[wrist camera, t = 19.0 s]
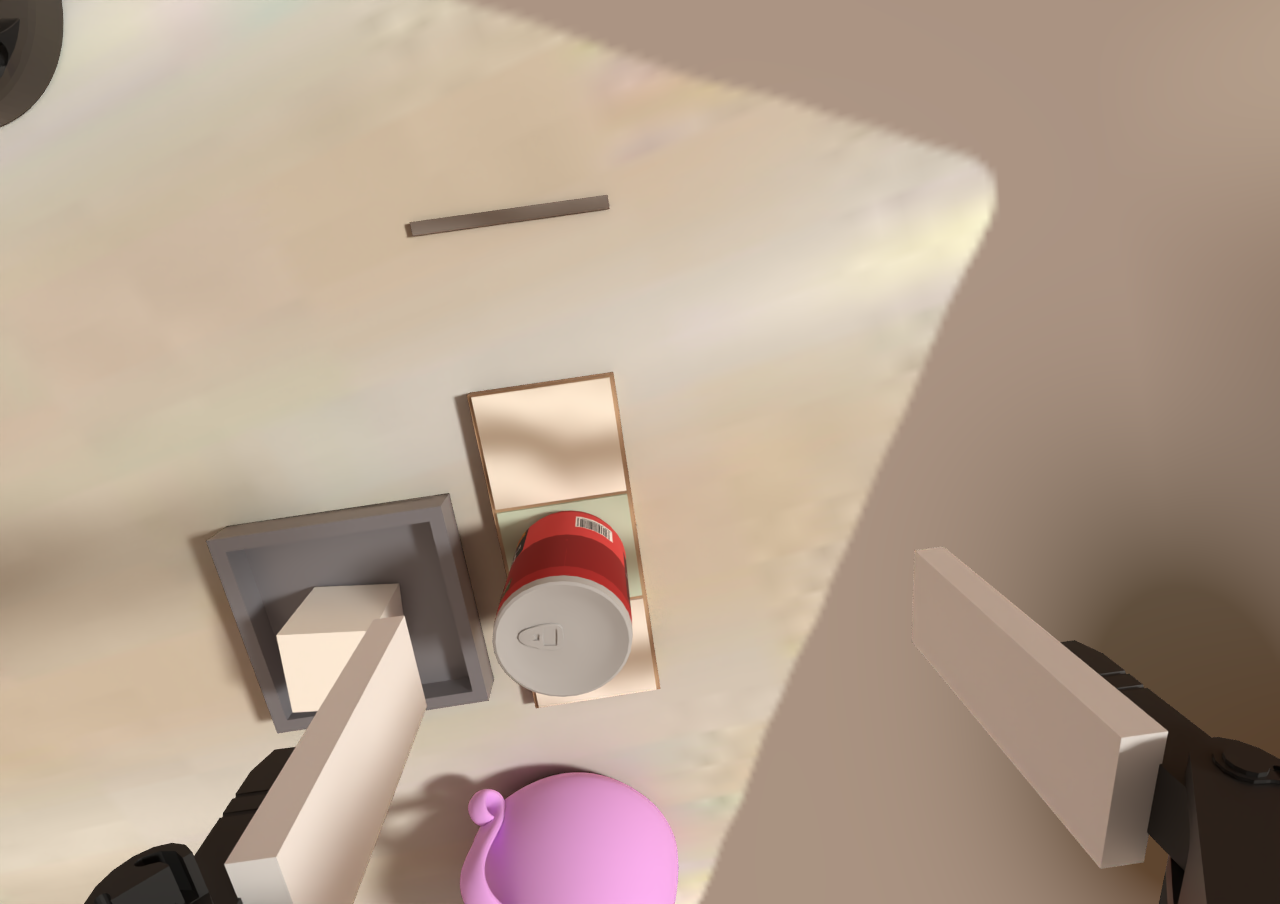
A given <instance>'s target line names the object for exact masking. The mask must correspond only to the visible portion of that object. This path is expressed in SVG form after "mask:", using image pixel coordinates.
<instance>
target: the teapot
mask: <svg viewBox="0 0 1280 904" xmlns="http://www.w3.org/2000/svg"><path fill="white" fill-rule="evenodd" d="M468 812H469V815H470V818H471V819H472V821H473V822H474V823H475V824H477V825H479V826H481V827H480V828H479V830H478V832H477V834H476V836H475V838H474V841H473V844H472V846H471V848H470V850H469V852H468V854H467V856H466V859H465V861H464V864H463V867H462V871H461V876H460V890H461V895H462V899H463V901H464V904H675V899H676V892H677V883H678V854H677V845H676V841H675V837H674V835H673V832H672V830H671V827H670V826H669V824H668V822H667V821H666V819H665V817H664V816H663V814H662V813H661V812H660V810H659V809H658V808H657V807H656V806H655V805H654V804H653V803H652V802H651V801H650V800H649V799H647V798H646V797H645V796H644V795H642V794H641V793H639V792H638V791H636V790H635V789H633V788H632V787H630V786H628V785H626V784H624V783H622V782H620V781H618V780H615V779H612V778H609V777H606V776H603V775H598V774H594V773H585V772H572V773H562V774H557V775H553V776H549V777H546V778H543V779H540V780H538V781H535V782H533V783H531V784H529V785H527V786H525V787H523V788H521V789H520V790H518V791H516V792H515V793H513V794H512V795H510V796H509V797H507V798H506V799H505V800H504V798H503V797H502V795H501V794H500V793H499V792H498V791H496V790H493V789H482V790H479V791H478V792H476V793H475V794H474V795H473V797H472V798H471V800H470V802H469V804H468Z"/></svg>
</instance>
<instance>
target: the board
mask: <svg viewBox="0 0 1280 904" xmlns="http://www.w3.org/2000/svg"><path fill="white" fill-rule="evenodd" d="M604 209H609V202H608V195H603V196H596V197H589V198H582V199H574V200H567V201H560V202H553V203H546V204H538V205H531V206H524V207H517V208H510V209H503V210H495V211H488V212H481V213H474V214H467V215H459V216H452V217H445V218H438V219H431V220H424V221H416V222H410V226H411V230H412V234H413V236H418V235H425V234H432V233H440V232H447V231H454V230H461V229H468V228H475V227H483V226H490V225H497V224H504V223H511V222H518V221H526V220H533V219H540V218H547V217H554V216H561V215H568V214H576V213H583V212H590V211H597V210H604ZM467 399H468V403H469V408H470V412H471V417H472V421H473V426H474V430H475V435H476V439H477V444H478V448H479V453H480V458H481V462H482V467H483V471H484V476H485V480H486V485H487V489H488V494H489V498H490V503H491V507H492V512H493V516H494V521H495V525H496V530H497V535H498V539H499V544H500V548H501V553H502V557H503V562H504V566H505V571H506V575H507V578H508V574H509V571H510V568H511V565H512V561H513V558H514V555H515V552H516V548H517V545H518V542H519V541H520V539H521V537H522V536H523V534H524V533H525V532H526V530H527V529H528V528H529V527H530V526H531V525H533V524H534V523H536V522H537V521H538V520H540V519H541V518H543V517H545V516H548V515H550V514H552V513H556V512H560V511H570V510H572V511H582V512H586V513H589V514H592V515H594V516H596V517H598V518H600V519H602V520H603V521H604V522H606V523H607V524H608V525H610V526H611V527H612V529H613V530H614V531H615V532H616V533H617V534H618V536H619V538H620V539H621V541H622V543H623V546H624V549H625V554H626V564H627V574H628V584H629V594H630V604H631V614H632V630H633V638H632V645H631V652H630V654H629V657H628V659H627V662H626V663H625V665H624V666H623V668H622V669H621V671H620V672H619V673H618V674H617V675H616V676H615V677H614V678H613V679H612V680H611V681H609V682H608V683H606V684H605V685H603V686H602V687H600V688H598V689H596V690H593V691H591V692H589V693H585V694H581V695H577V696H567V697H557V696H547V695H543V694H539V693H536V692H533V691H532V693H533V698H534V702H535V707H536V708H541V707H548V706H554V705H560V704H567V703H573V702H580V701H586V700H592V699H599V698H605V697H612V696H618V695H625V694H631V693H637V692H644V691H650V690H657V689H660V683H659V676H658V670H657V663H656V656H655V650H654V643H653V636H652V629H651V623H650V616H649V609H648V602H647V596H646V589H645V582H644V576H643V569H642V562H641V555H640V549H639V542H638V535H637V529H636V522H635V515H634V508H633V502H632V495H631V488H630V482H629V475H628V468H627V461H626V455H625V448H624V441H623V435H622V428H621V421H620V414H619V408H618V401H617V394H616V388H615V381H614V374H613V372H610V373H603V374H596V375H589V376H582V377H575V378H568V379H561V380H554V381H548V382H541V383H534V384H527V385H520V386H513V387H506V388H499V389H492V390H486V391H479V392H472V393H469V394H468V395H467Z"/></svg>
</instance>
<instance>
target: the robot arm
mask: <svg viewBox="0 0 1280 904" xmlns="http://www.w3.org/2000/svg"><path fill="white" fill-rule="evenodd" d="M62 39H63V9H62V0H0V126H2V125H4V124H6V123H8V122H10V121H12V120H14V119H16V118H17V117H19V116H20V115H22V114H23V113H24V112H26V111H27V110H28V109H29V108H30V107H31V106H32V105H33V104H34V103H35V102H36V101H37V100H38V99H39V98H40V96H41V95H42V94H43V92H44V91H45V89H46V88H47V86H48V84H49V83H50V81H51V79H52V77H53V74H54V72H55V69H56V67H57V64H58V60H59V56H60V52H61V47H62ZM912 615H913V616H912V643H913V644H914V645H915V646H916V647H917V649H918V650H919V651H920V652H921V653H922V655H923V656H924V657H925V658H926V659H927V661H928V662H929V663H930V664H931V666H932V667H933V668H934V669H935V670H936V671H937V673H938V674H939V675H940V676H941V677H942V679H943V680H944V681H945V682H946V683H947V685H948V686H949V687H950V688H951V689H952V691H953V692H954V693H955V694H956V695H957V697H958V698H959V699H960V700H961V701H962V703H963V704H964V705H965V706H966V708H967V709H968V710H969V711H970V712H971V714H972V715H973V716H974V717H975V718H976V720H977V721H978V722H979V723H980V724H981V726H982V727H983V728H984V729H985V730H986V732H987V733H988V734H989V735H990V736H991V738H992V739H993V740H994V741H995V742H996V744H997V745H998V746H999V747H1000V748H1001V750H1002V751H1003V752H1004V753H1005V754H1006V756H1007V757H1008V758H1009V759H1010V761H1011V762H1012V763H1013V764H1014V765H1015V767H1016V768H1017V769H1018V770H1019V771H1020V772H1021V774H1022V775H1023V776H1024V777H1025V779H1026V780H1027V781H1028V782H1029V783H1030V785H1031V786H1032V787H1033V788H1034V789H1035V791H1036V792H1037V793H1038V794H1039V795H1040V797H1041V798H1042V799H1043V800H1044V801H1045V803H1046V804H1047V805H1048V806H1049V807H1050V809H1051V810H1052V811H1053V812H1054V813H1055V815H1056V816H1057V817H1058V818H1059V819H1060V821H1061V822H1062V823H1063V824H1064V825H1065V827H1066V828H1067V829H1068V830H1069V831H1070V833H1071V834H1072V835H1073V836H1074V837H1075V838H1076V840H1077V841H1078V842H1079V843H1080V844H1081V846H1082V847H1083V848H1084V850H1085V851H1086V852H1087V853H1088V854H1089V856H1090V857H1091V858H1092V859H1093V860H1094V861H1095V863H1096V864H1097V865H1098V866H1099V867H1100V868H1108V867H1115V866H1122V865H1129V864H1135V863H1142V862H1144V858H1145V852H1146V847H1147V842H1148V836H1149V835H1150V836H1151V837H1152V838H1153V839H1154V840H1155V841H1156V842H1157V843H1158V844H1159V845H1160V846H1161V847H1162V848H1163V849H1164V850H1165V851H1166V852H1167V853H1168V854H1169V856H1168V861H1167V866H1166V872H1165V876H1164V881H1163V886H1162V892H1161V896H1160V901H1159V904H1280V759H1278V758H1276V757H1275V756H1273V755H1271V754H1269V753H1267V752H1265V751H1264V750H1262V749H1260V748H1257V747H1254V746H1252V745H1249V744H1246V743H1243V742H1240V741H1237V740H1231V739H1226V738H1220V737H1213V738H1211V737H1210V736H1209V735H1207V734H1206V733H1205V732H1204V731H1202V730H1201V729H1200V728H1198V727H1197V726H1196V725H1195V724H1193V723H1192V722H1190V721H1189V720H1188V719H1187V718H1185V717H1184V716H1183V715H1182V714H1180V713H1179V712H1178V711H1176V710H1175V709H1174V708H1173V707H1171V706H1170V705H1169V704H1167V703H1166V702H1165V701H1164V700H1162V699H1161V698H1159V697H1158V696H1157V695H1156V694H1154V693H1153V692H1152V691H1151V690H1149V689H1148V688H1144V687H1143V684H1141V683H1140V682H1139V681H1138V680H1136V679H1135V678H1134V677H1133V676H1131V675H1130V674H1126V673H1125V671H1124V670H1123V669H1122V668H1121V667H1120V666H1118V665H1117V664H1116V663H1114V662H1113V661H1112V660H1110V659H1109V658H1108V657H1107V656H1105V655H1104V654H1103V653H1101V652H1098V651H1096V650H1094V649H1092V648H1090V647H1088V646H1086V645H1084V644H1082V643H1079V642H1077V641H1075V640H1074V641H1067V642H1059V641H1058V640H1056V639H1055V638H1054V637H1052V635H1050V634H1049V633H1048V632H1047V631H1045V630H1044V629H1043V628H1042V627H1041V626H1039V625H1038V624H1037V623H1036V622H1035V621H1033V620H1032V619H1031V618H1030V617H1029V616H1027V615H1026V614H1025V613H1024V612H1022V611H1021V610H1020V609H1019V608H1017V607H1016V606H1015V605H1014V604H1013V603H1011V602H1010V601H1009V600H1008V599H1007V598H1005V597H1004V596H1003V595H1002V594H1001V593H999V592H998V591H997V590H996V589H994V588H993V587H992V586H991V585H990V584H988V583H987V582H986V581H985V580H983V579H982V578H981V577H980V576H979V575H977V574H976V573H975V572H974V571H973V570H971V569H970V568H969V567H968V566H966V565H965V564H964V563H962V562H961V561H960V560H959V559H958V558H957V557H955V556H954V555H953V554H952V553H951V552H949V551H948V550H947V549H946V548H945V547H936V548H930V549H921V550H915V554H914V584H913V614H912ZM426 707H427V704H426V700H425V696H424V692H423V688H422V684H421V680H420V676H419V672H418V668H417V664H416V660H415V656H414V652H413V648H412V644H411V640H410V636H409V632H408V628H407V624H406V620H405V616H396V617H388V618H381V619H374V620H373V621H372V623H371V625H370V626H369V628H368V629H367V631H366V633H365V634H364V636H363V638H362V639H361V641H360V643H359V644H358V646H357V648H356V649H355V651H354V652H353V654H352V656H351V657H350V659H349V661H348V662H347V664H346V666H345V667H344V669H343V670H342V672H341V674H340V675H339V677H338V679H337V680H336V682H335V684H334V685H333V687H332V688H331V690H330V692H329V693H328V695H327V697H326V698H325V700H324V702H323V703H322V705H321V706H320V708H319V710H318V711H317V713H316V715H315V716H314V718H313V720H312V721H311V723H310V724H309V726H308V728H307V729H306V731H305V733H304V734H303V736H302V738H301V739H300V741H299V743H298V744H297V746H296V747H291V748H284V749H277V750H274V751H273V752H272V753H271V754H269V755H268V756H267V757H266V758H265V759H264V760H263V761H262V762H261V763H259V764H258V765H257V766H256V767H255V768H254V769H253V770H252V771H251V772H250V773H249V775H248V776H247V778H246V779H245V781H244V782H243V784H242V785H241V787H240V788H239V790H238V791H237V793H236V797H235V798H234V799H232V800H231V802H230V803H229V805H228V806H227V808H226V809H225V811H224V812H223V817H222V818H219V820H218V821H217V823H216V824H215V826H214V827H213V829H212V830H211V832H210V833H209V835H208V836H207V838H206V839H205V841H204V842H203V844H202V845H201V847H200V848H199V850H198V851H197V853H196V854H195V856H194V855H193V853H192V852H191V850H190V849H189V848H188V847H187V846H186V845H183V844H176V843H170V844H165V845H161V846H156V847H153V848H151V849H148V850H146V851H144V852H142V853H140V854H138V855H135V856H133V857H132V858H130V859H129V860H127V861H126V862H124V863H123V864H122V865H120V866H119V867H117V868H116V869H114V870H113V871H112V872H111V873H110V874H109V875H108V876H106V877H105V878H104V879H103V880H102V881H101V882H100V883H99V884H98V885H97V886H96V887H95V888H94V890H93V891H92V893H91V894H90V896H89V897H88V899H87V900H86V902H85V903H84V904H353V903H354V900H355V898H356V895H357V892H358V890H359V887H360V884H361V882H362V879H363V876H364V874H365V871H366V868H367V866H368V863H369V860H370V857H371V855H372V852H373V849H374V847H375V844H376V841H377V839H378V836H379V833H380V831H381V828H382V825H383V823H384V820H385V817H386V815H387V812H388V809H389V807H390V804H391V801H392V798H393V796H394V793H395V790H396V788H397V785H398V782H399V780H400V777H401V774H402V772H403V769H404V766H405V764H406V761H407V758H408V756H409V753H410V750H411V748H412V745H413V742H414V740H415V737H416V734H417V731H418V729H419V726H420V723H421V721H422V718H423V715H424V713H425V710H426Z"/></svg>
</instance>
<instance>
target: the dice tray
mask: <svg viewBox="0 0 1280 904" xmlns="http://www.w3.org/2000/svg"><path fill="white" fill-rule="evenodd" d="M206 542H207V545H208V548H209V551H210V553H211V556H212V559H213V561H214V564H215V567H216V569H217V572H218V575H219V577H220V580H221V583H222V586H223V588H224V591H225V594H226V596H227V599H228V602H229V604H230V607H231V610H232V612H233V615H234V618H235V620H236V623H237V626H238V629H239V631H240V634H241V637H242V639H243V642H244V645H245V647H246V650H247V653H248V655H249V658H250V661H251V664H252V666H253V669H254V672H255V674H256V677H257V680H258V682H259V685H260V688H261V690H262V693H263V696H264V698H265V701H266V704H267V707H268V709H269V712H270V715H271V717H272V720H273V723H274V725H275V728H276V731H277V733H283V732H289V731H296V730H302V729H307V728H308V726H309V724H310V723H311V721H312V720H313V718H314V716H315V715H316V713H317V711H310V712H294V713H293V712H292V708H291V703H290V698H289V693H288V689H287V684H286V679H285V674H284V670H283V665H282V660H281V655H280V651H279V646H278V641H277V636H276V635H277V634H278V633H279V631H280V630H281V629H282V628H283V626H284V625H285V624H286V622H287V621H288V620H289V619H290V617H291V616H292V615H293V614H294V612H295V611H296V610H297V609H298V607H299V606H300V605H301V604H302V602H303V601H304V600H305V599H306V597H307V596H308V595H309V593H310V592H311V591H312V590H313V588H314V587H328V586H351V585H374V584H397V583H399V586H400V593H401V601H402V608H403V616H405V620H406V624H407V628H408V632H409V636H410V640H411V644H412V648H413V652H414V656H415V660H416V664H417V668H418V672H419V676H420V680H421V684H422V688H423V692H424V696H425V700H426V704H427V707H426V710H431V709H437V708H444V707H450V706H457V705H463V704H470V703H476V702H482V701H489V697H490V693H491V689H492V685H493V682H494V678H493V673H492V669H491V665H490V661H489V657H488V653H487V649H486V644H485V640H484V636H483V632H482V628H481V624H480V619H479V615H478V611H477V607H476V603H475V599H474V594H473V590H472V586H471V582H470V578H469V574H468V570H467V565H466V561H465V557H464V553H463V549H462V545H461V540H460V536H459V532H458V528H457V524H456V520H455V515H454V511H453V507H452V503H451V499H450V495H449V493H448V494H441V495H434V496H428V497H421V498H414V499H407V500H401V501H394V502H387V503H380V504H374V505H367V506H360V507H353V508H347V509H340V510H333V511H326V512H320V513H313V514H306V515H299V516H293V517H286V518H279V519H273V520H266V521H259V522H252V523H246V524H239V525H232V526H227V527H225V528H224V529H222V530H221V531H219V532H218V533H217V534H215V535H214V536H212V537H211V538H209V539H208V540H207V541H206Z"/></svg>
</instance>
